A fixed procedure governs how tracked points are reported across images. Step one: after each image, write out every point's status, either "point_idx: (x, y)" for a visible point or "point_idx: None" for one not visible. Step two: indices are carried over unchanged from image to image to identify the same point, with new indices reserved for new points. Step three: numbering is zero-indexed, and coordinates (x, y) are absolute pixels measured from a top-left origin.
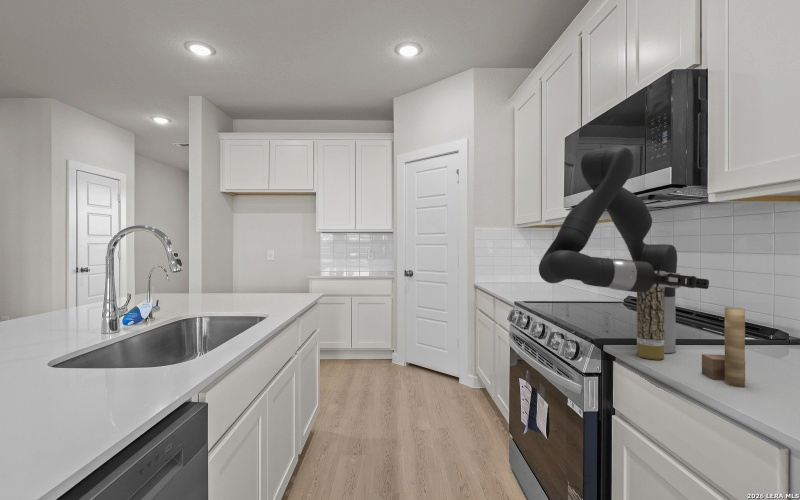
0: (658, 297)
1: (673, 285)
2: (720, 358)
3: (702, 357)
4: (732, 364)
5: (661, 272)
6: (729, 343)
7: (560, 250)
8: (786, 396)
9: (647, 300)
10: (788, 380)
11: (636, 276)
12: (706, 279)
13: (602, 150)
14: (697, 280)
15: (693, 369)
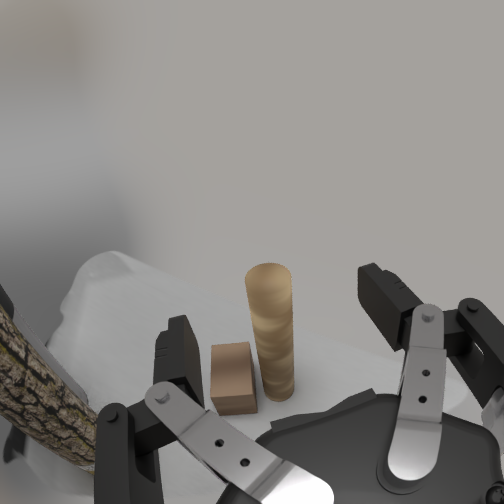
0: (39, 372)
1: (199, 375)
2: (242, 377)
3: (214, 400)
4: (290, 375)
5: (435, 453)
6: (284, 352)
7: None
8: (322, 342)
9: (32, 407)
10: (236, 308)
11: None
12: (377, 266)
13: None
14: (421, 303)
15: None
